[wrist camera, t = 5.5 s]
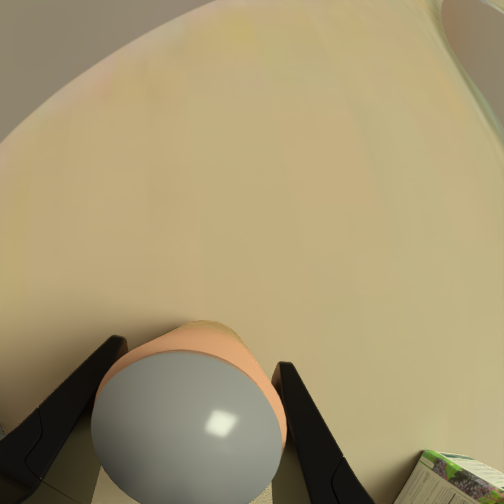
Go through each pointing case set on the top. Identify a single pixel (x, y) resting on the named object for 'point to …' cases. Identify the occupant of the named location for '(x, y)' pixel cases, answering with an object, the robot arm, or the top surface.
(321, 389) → the top surface
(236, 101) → the top surface
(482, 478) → the syrup box
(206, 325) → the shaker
